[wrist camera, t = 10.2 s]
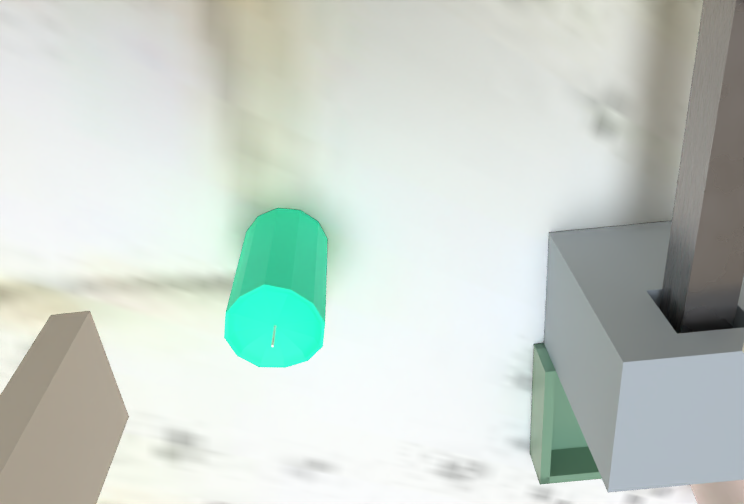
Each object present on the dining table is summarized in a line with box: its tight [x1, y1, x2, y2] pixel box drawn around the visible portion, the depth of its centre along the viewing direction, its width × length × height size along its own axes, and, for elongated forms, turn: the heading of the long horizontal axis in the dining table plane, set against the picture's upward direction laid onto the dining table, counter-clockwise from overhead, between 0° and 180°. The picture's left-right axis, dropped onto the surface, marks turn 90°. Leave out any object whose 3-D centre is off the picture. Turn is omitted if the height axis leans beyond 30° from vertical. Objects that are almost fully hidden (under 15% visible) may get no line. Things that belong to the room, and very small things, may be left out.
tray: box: [530, 343, 602, 484], centre depth 56 cm, size 12×14×4 cm
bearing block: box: [544, 221, 744, 492], centre depth 46 cm, size 10×12×15 cm
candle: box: [224, 208, 328, 367], centre depth 44 cm, size 6×6×12 cm
